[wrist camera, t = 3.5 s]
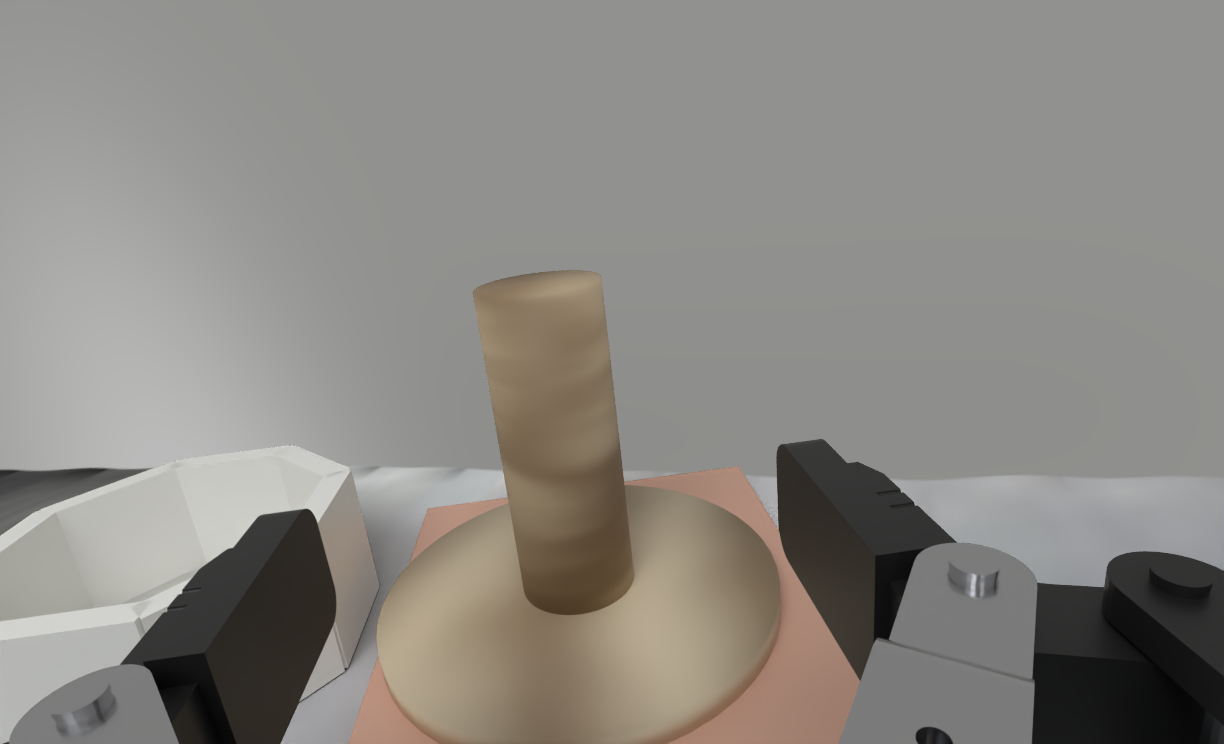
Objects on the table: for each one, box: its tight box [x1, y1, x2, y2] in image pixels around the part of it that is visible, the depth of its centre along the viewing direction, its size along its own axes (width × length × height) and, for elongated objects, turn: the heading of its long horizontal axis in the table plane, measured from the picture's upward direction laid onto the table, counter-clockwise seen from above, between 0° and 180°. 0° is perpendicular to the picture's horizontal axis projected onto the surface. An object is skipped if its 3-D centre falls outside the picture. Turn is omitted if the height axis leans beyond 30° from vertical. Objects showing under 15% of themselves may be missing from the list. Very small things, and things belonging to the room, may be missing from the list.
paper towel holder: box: [376, 270, 781, 744], centre depth 20 cm, size 12×12×10 cm
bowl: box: [0, 445, 380, 744], centre depth 21 cm, size 10×10×4 cm
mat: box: [348, 466, 860, 744], centre depth 22 cm, size 13×14×1 cm
